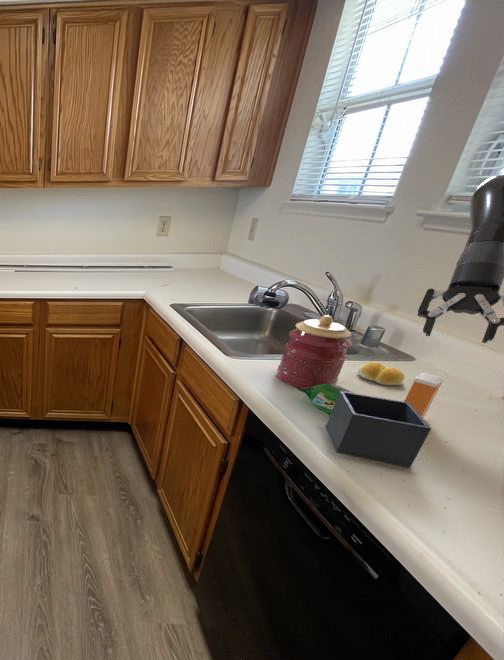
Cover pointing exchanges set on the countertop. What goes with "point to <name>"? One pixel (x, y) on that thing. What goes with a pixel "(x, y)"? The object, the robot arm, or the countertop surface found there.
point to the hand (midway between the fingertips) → (455, 338)
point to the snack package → (324, 395)
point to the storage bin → (376, 428)
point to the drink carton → (423, 392)
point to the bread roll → (381, 374)
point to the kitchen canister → (314, 353)
